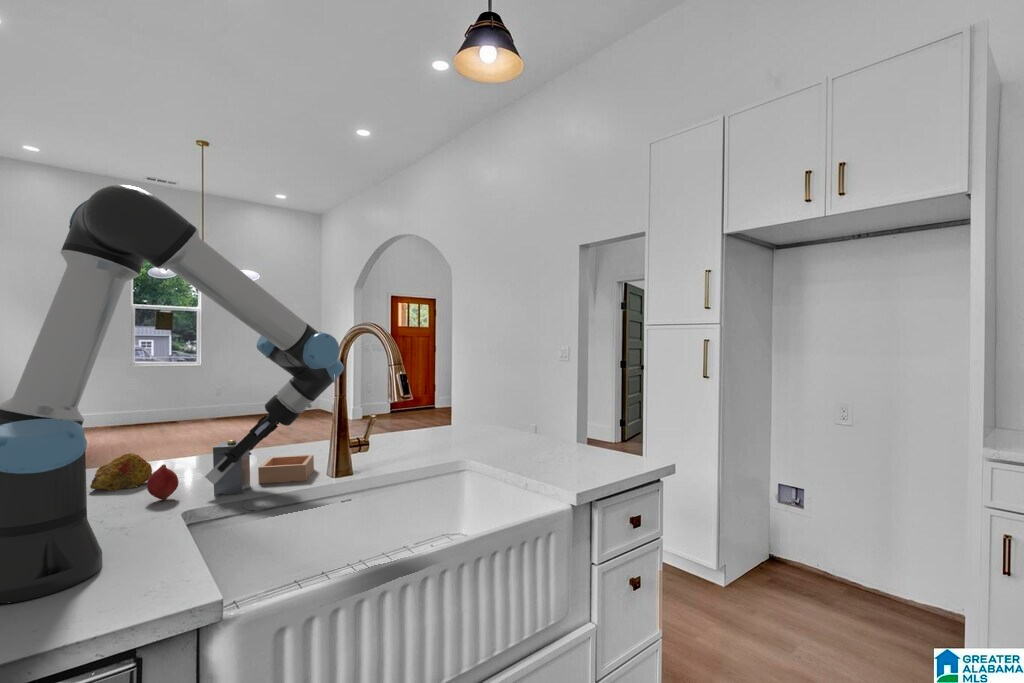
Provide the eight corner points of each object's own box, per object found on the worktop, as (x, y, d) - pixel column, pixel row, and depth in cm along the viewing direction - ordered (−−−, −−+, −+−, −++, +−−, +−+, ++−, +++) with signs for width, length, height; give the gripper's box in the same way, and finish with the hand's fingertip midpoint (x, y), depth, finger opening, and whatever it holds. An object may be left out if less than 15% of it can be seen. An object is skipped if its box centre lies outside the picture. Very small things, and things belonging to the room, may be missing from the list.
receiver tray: (305, 480, 129) (305, 464, 129) (258, 483, 127) (258, 467, 127) (313, 469, 140) (313, 454, 140) (270, 472, 138) (270, 457, 137)
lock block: (242, 493, 119) (241, 442, 119) (214, 495, 118) (212, 443, 118) (250, 485, 125) (249, 437, 125) (223, 487, 124) (222, 438, 124)
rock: (116, 509, 122) (79, 482, 119) (121, 505, 129) (86, 480, 126) (157, 470, 127) (122, 444, 124) (160, 469, 134) (127, 444, 131)
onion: (142, 505, 111) (141, 468, 111) (153, 497, 117) (152, 462, 117) (173, 502, 113) (172, 466, 113) (182, 494, 118) (181, 460, 118)
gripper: (291, 420, 115) (212, 499, 112) (308, 408, 134) (240, 475, 131) (265, 398, 114) (185, 476, 111) (285, 389, 132) (217, 456, 129)
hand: (215, 476), depth 121 cm, fingers closed on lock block, 6 cm apart
